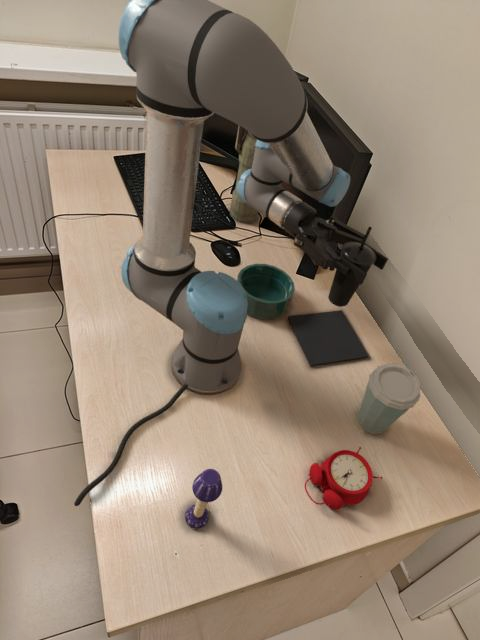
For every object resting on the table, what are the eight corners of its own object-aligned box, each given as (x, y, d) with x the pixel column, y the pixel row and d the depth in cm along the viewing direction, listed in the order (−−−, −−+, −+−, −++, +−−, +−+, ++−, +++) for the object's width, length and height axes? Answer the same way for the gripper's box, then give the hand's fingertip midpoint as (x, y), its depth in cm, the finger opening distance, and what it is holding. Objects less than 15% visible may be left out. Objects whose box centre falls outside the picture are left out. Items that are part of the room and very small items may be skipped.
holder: (367, 358, 114) (369, 356, 114) (310, 367, 109) (311, 365, 108) (341, 312, 123) (342, 310, 123) (286, 318, 118) (287, 316, 117)
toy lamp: (211, 504, 83) (224, 461, 71) (213, 530, 80) (227, 491, 68) (184, 505, 82) (192, 463, 69) (185, 532, 79) (194, 492, 66)
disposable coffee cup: (368, 450, 97) (398, 411, 86) (337, 410, 102) (361, 369, 91) (402, 430, 102) (435, 391, 91) (371, 394, 107) (398, 353, 96)
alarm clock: (390, 482, 89) (337, 507, 80) (373, 497, 93) (320, 524, 84) (358, 438, 94) (305, 457, 85) (343, 454, 98) (290, 475, 89)
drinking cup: (355, 313, 105) (391, 242, 90) (323, 308, 104) (354, 235, 89) (352, 291, 110) (385, 220, 95) (321, 285, 109) (350, 213, 94)
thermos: (221, 206, 144) (239, 87, 118) (257, 206, 148) (282, 91, 122) (228, 223, 139) (248, 103, 113) (265, 223, 143) (293, 107, 117)
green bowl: (286, 326, 116) (292, 309, 111) (228, 312, 115) (232, 294, 111) (291, 288, 126) (297, 271, 121) (238, 275, 125) (242, 258, 120)
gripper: (316, 216, 113) (391, 267, 105) (260, 244, 101) (341, 304, 93) (325, 188, 107) (406, 240, 100) (267, 215, 95) (353, 276, 88)
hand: (374, 271), depth 97 cm, fingers closed on drinking cup, 8 cm apart
